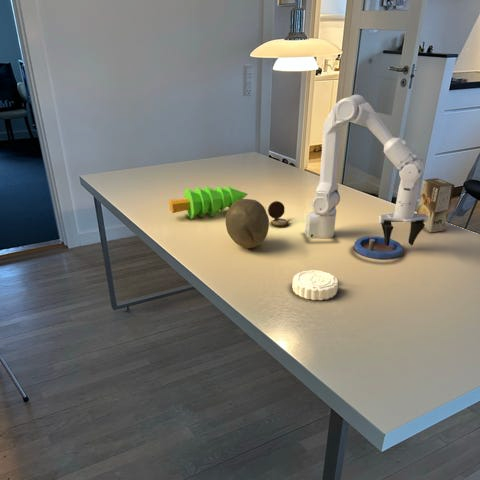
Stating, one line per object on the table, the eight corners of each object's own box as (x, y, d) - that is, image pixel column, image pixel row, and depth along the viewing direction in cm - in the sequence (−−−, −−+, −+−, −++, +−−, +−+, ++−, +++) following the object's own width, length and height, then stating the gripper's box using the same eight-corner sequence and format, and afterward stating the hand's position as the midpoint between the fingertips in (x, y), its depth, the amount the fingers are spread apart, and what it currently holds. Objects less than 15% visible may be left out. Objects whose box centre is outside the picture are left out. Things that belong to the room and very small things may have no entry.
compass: (274, 228, 170) (275, 208, 167) (267, 220, 177) (267, 201, 173) (295, 226, 172) (297, 206, 169) (287, 218, 179) (288, 199, 175)
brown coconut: (276, 243, 159) (278, 198, 151) (255, 258, 149) (256, 210, 141) (239, 234, 165) (239, 191, 157) (216, 249, 155) (215, 202, 147)
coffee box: (445, 230, 170) (456, 184, 162) (430, 232, 168) (440, 186, 160) (427, 221, 177) (437, 177, 169) (413, 224, 175) (422, 179, 167)
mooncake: (283, 289, 131) (283, 277, 130) (310, 276, 139) (311, 264, 137) (318, 305, 124) (319, 293, 122) (346, 290, 131) (347, 278, 130)
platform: (359, 263, 146) (361, 249, 144) (347, 244, 159) (348, 231, 157) (409, 262, 147) (412, 249, 145) (392, 243, 160) (395, 230, 157)
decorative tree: (167, 183, 173) (244, 172, 182) (167, 209, 182) (241, 197, 191) (176, 204, 167) (256, 192, 176) (175, 229, 176) (251, 216, 186)
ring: (361, 259, 146) (362, 254, 145) (349, 241, 158) (350, 236, 157) (407, 258, 147) (409, 253, 146) (392, 240, 159) (393, 235, 158)
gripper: (386, 206, 141) (379, 249, 148) (435, 205, 142) (426, 248, 149) (379, 198, 147) (372, 240, 154) (426, 197, 148) (417, 239, 155)
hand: (398, 244), depth 152 cm, fingers open, 7 cm apart
